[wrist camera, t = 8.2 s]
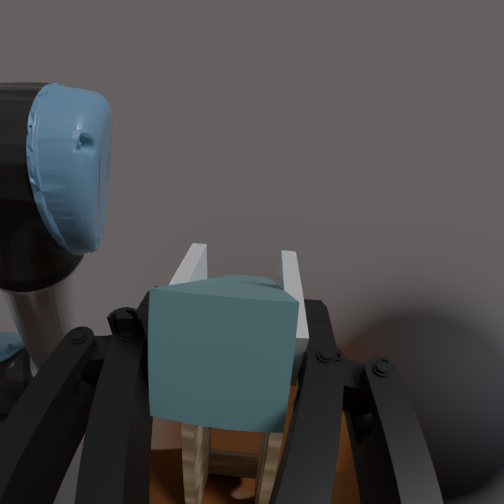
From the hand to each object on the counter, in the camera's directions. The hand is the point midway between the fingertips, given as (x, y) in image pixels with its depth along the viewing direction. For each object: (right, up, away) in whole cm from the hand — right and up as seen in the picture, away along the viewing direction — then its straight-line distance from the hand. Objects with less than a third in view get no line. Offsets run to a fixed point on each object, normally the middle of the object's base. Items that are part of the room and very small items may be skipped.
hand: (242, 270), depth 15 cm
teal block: (0, -5, +4) cm, 6 cm away
